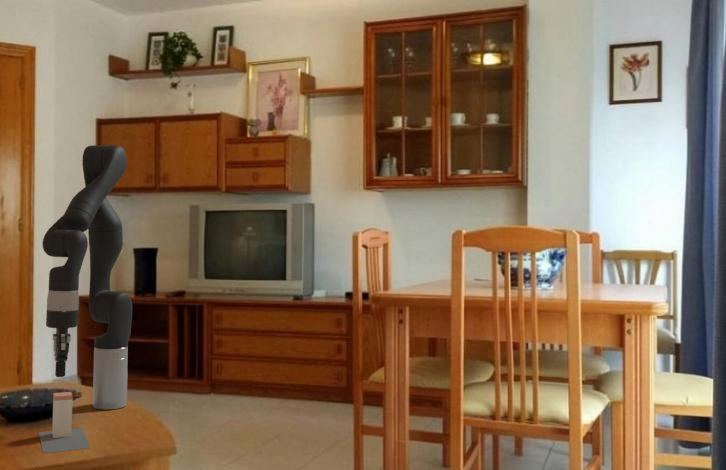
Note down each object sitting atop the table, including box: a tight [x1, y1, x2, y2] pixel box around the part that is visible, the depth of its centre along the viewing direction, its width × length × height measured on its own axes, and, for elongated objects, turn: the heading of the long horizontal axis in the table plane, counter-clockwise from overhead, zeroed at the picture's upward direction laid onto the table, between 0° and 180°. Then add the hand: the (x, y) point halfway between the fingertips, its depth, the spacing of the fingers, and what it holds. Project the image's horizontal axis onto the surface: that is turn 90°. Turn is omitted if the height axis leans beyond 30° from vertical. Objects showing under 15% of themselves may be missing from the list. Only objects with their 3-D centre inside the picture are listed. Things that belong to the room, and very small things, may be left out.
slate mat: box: [38, 427, 91, 454], centre depth 169 cm, size 18×10×1 cm, turn 28°
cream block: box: [51, 391, 73, 438], centre depth 173 cm, size 4×4×10 cm
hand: (60, 376), depth 179 cm, fingers closed
